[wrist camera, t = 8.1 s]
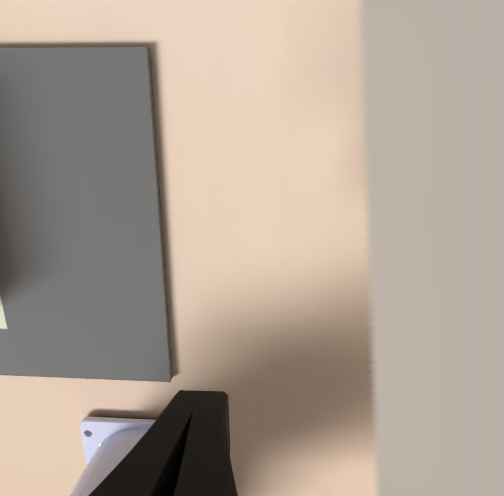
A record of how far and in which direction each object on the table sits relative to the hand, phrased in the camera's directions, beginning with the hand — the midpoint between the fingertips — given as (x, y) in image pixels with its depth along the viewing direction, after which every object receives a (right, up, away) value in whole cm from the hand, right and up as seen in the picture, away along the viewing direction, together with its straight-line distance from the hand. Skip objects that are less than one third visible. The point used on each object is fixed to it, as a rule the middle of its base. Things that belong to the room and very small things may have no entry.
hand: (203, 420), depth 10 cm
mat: (-15, +6, +10) cm, 19 cm away
